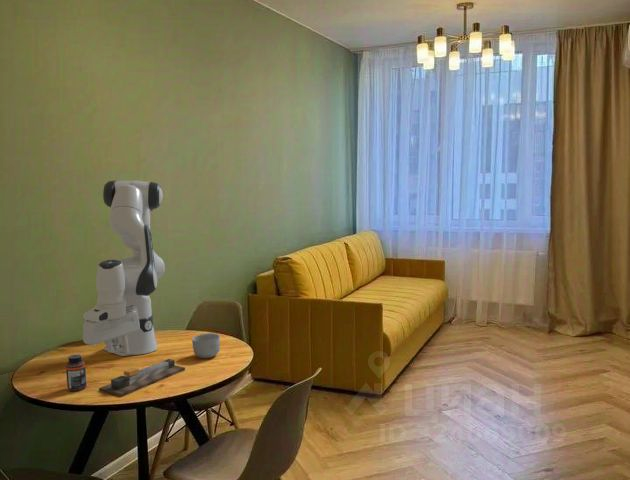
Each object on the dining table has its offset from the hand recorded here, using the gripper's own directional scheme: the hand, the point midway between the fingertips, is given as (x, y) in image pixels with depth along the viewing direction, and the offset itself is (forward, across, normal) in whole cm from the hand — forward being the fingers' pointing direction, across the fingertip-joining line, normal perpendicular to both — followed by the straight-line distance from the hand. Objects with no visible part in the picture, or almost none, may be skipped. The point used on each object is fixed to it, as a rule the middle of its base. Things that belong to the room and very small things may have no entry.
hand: (113, 351), depth 182 cm
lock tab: (+10, -6, +1) cm, 11 cm away
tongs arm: (+11, -14, +1) cm, 18 cm away
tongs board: (+14, -11, +1) cm, 18 cm away
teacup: (+14, -44, +2) cm, 46 cm away
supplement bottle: (+14, +5, -13) cm, 20 cm away
